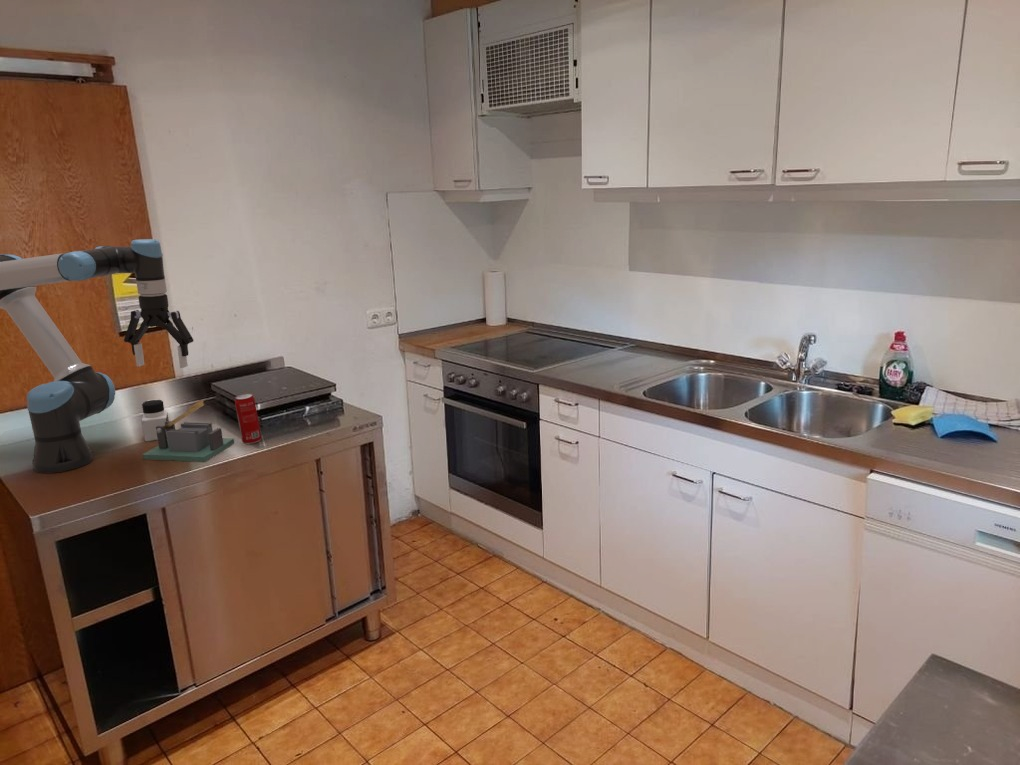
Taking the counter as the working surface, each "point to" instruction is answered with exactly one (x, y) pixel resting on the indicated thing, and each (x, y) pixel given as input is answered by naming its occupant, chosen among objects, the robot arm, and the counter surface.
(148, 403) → the medicine bottle
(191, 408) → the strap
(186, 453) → the board
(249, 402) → the beverage can
